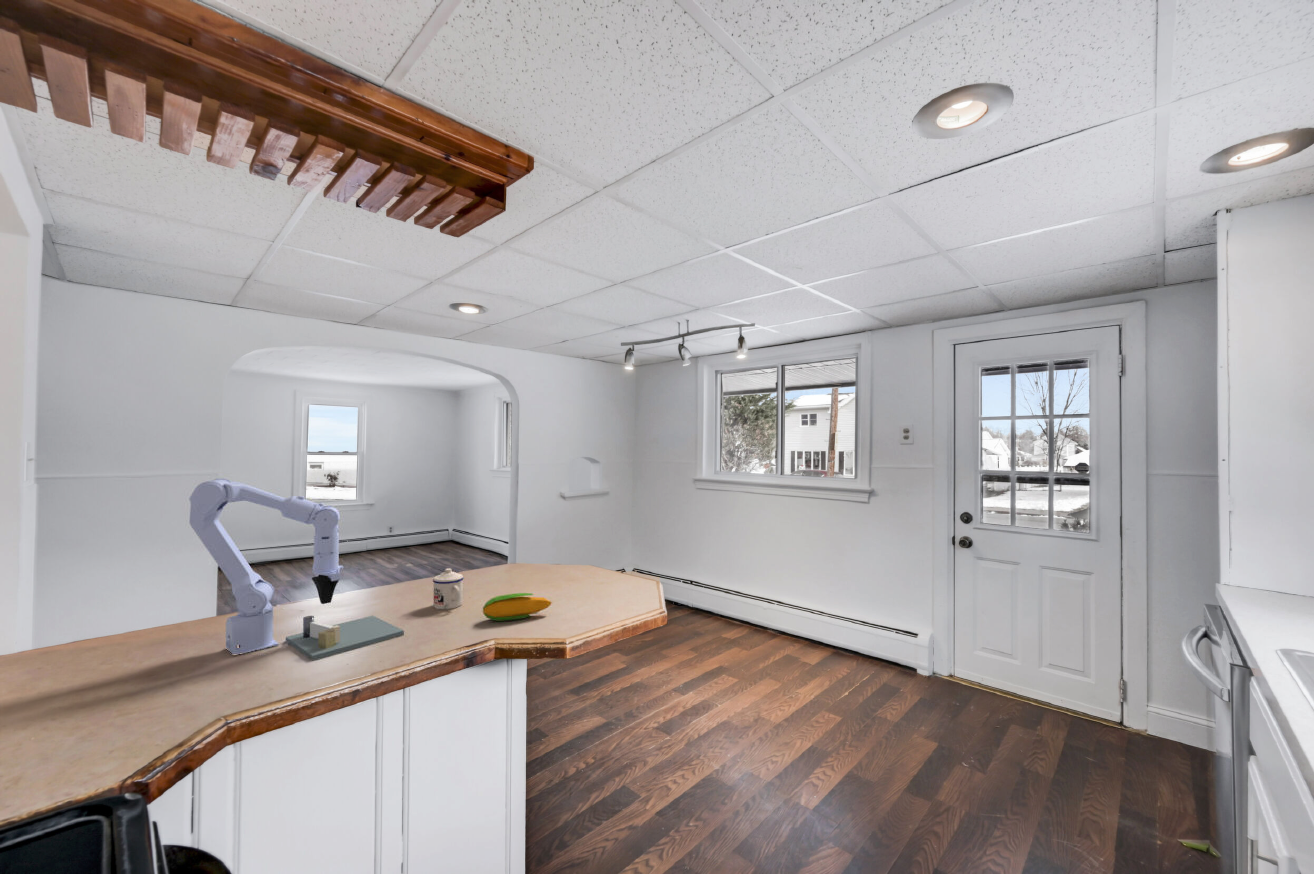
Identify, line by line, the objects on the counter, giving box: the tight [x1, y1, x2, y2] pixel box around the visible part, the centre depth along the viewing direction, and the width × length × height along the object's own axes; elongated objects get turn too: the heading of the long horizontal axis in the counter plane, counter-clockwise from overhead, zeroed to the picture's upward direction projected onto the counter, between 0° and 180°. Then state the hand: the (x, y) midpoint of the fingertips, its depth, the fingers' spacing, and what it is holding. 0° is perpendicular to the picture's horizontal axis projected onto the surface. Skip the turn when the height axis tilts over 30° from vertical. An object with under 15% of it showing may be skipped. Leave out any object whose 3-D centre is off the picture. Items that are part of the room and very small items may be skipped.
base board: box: [285, 615, 405, 662], centre depth 145 cm, size 22×19×1 cm
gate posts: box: [302, 615, 335, 649], centre depth 139 cm, size 3×14×5 cm, turn 51°
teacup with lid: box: [432, 568, 464, 610], centre depth 172 cm, size 12×9×12 cm
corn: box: [482, 592, 553, 622], centre depth 162 cm, size 7×8×20 cm
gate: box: [310, 620, 340, 643], centre depth 140 cm, size 10×1×4 cm, turn 63°
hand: (325, 602), depth 145 cm, fingers closed
